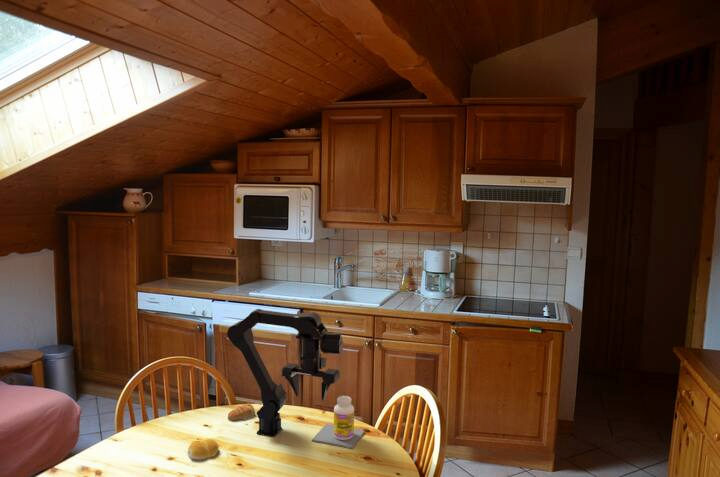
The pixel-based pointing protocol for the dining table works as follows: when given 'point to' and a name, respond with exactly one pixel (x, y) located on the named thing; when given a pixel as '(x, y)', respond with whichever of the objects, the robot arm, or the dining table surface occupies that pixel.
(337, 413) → the supplement bottle
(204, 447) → the bread roll
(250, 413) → the pastry
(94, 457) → the dining table surface
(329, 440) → the rubber mat
